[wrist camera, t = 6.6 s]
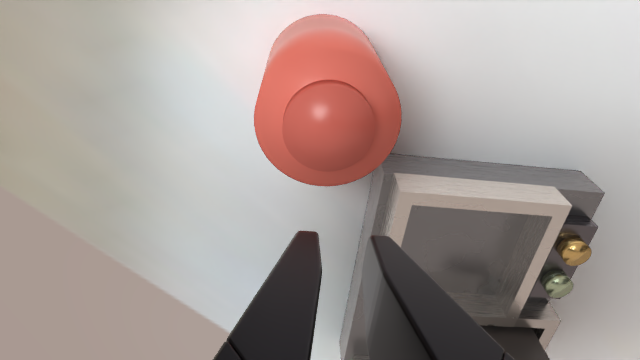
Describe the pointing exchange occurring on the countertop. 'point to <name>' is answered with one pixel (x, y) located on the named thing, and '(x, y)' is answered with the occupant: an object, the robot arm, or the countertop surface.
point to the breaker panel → (480, 237)
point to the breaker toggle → (517, 342)
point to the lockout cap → (326, 103)
